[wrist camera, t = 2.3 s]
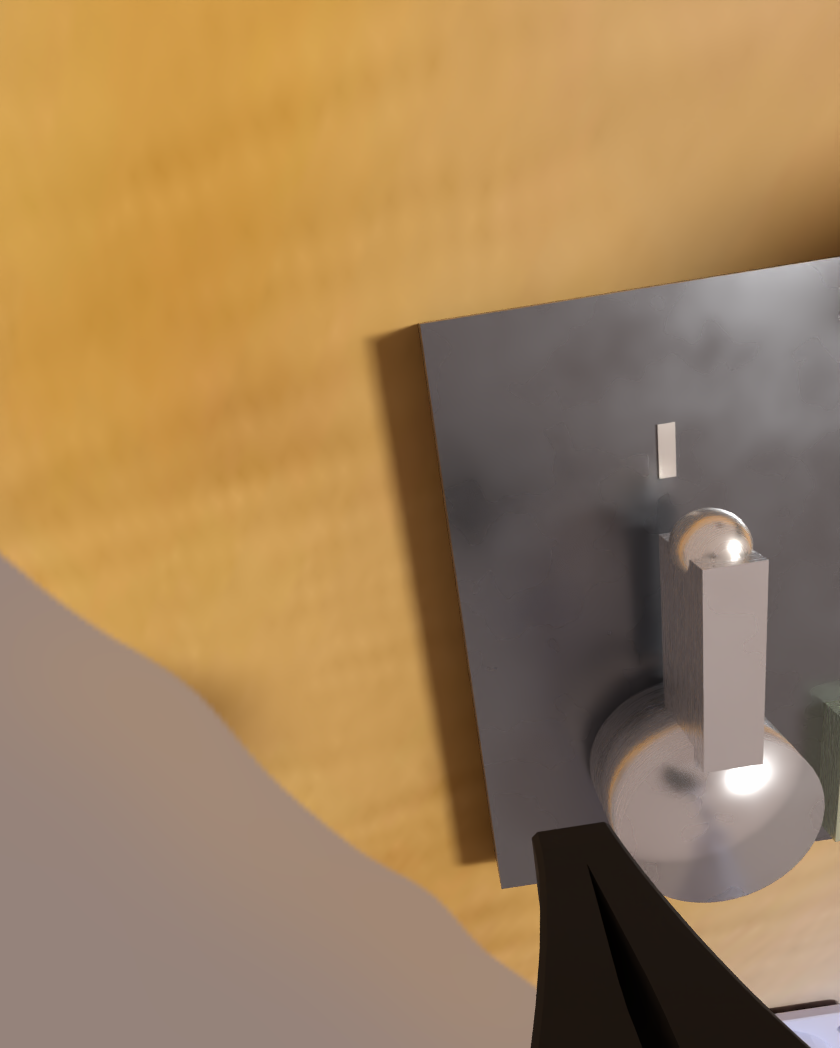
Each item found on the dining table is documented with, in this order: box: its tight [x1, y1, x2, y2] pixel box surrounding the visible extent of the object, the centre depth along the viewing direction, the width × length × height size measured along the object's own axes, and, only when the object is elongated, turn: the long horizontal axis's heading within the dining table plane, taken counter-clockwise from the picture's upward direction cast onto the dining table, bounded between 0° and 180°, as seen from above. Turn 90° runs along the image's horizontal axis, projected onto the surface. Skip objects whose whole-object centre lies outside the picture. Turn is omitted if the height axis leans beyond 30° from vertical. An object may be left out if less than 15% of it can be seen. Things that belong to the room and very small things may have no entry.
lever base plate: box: [418, 256, 840, 889], centre depth 20 cm, size 20×15×2 cm
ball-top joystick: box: [590, 507, 825, 902], centre depth 18 cm, size 12×6×4 cm, turn 9°
